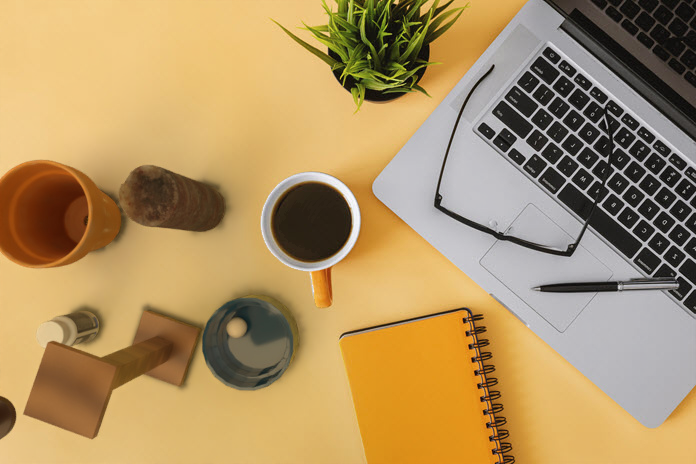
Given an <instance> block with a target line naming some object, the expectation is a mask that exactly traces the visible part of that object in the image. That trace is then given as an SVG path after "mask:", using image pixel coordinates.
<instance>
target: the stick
mask: <svg viewBox="0 0 696 464" xmlns="http://www.w3.org/2000/svg"><path fill="white" fill-rule="evenodd" d="M16 422H17V411H16V407H15V405H14V404H13V403H12V401H11V400H10V399H8V398H7V397H5V396H2V395H0V440H2V439H4V438H5V437H7V435H9V434H10V433H11V432H12V430H13V428H14V427H15V425H16Z"/></svg>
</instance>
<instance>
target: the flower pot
mask: <svg viewBox="0 0 696 464" xmlns="http://www.w3.org/2000/svg"><path fill="white" fill-rule="evenodd" d="M121 226H122V214H121V210H120V208H119V206H118V204H117V203H116V202H115V200H114V199H113V198H111V197H110V196H109V195H107V194H106V193H105V192H103V191H102V190H100V189H99V186H98V185H97V184H96V183H95V181H93V179H91V178H90V177H89V175H87V174H86V173H84V172H82V171H80V170H79V169H77V168H74V167H72V166H70V165H67V164H64V163H60V162H57V161H54V160H49V159H33V160H28V161H25V162H22V163H20V164H17V165H15V166H13V167H12V168H10V169H9V170H8V171H6V172H5V173H4V174H3V175H2V176H1V177H0V254H2V255H3V256H4V257H5V258H6V259H7V260H9V261H11V262H12V263H14V264H16V265H19V266H22V267H25V268H29V269H36V270H37V269H38V270H39V269H51V268H60V267H61V268H62V267H65V266H70V265H72V264H75V263H76V262H79V261H80V260H82V259H84V257H86V256H88V255H89V254H90V253H91V252H94V251H96V250H97V251H98V250H99V249H102V248H105V247H106V246H108V245H110V244H111V243H112V242H113V241H114V240H115V239H116V237H117V236H118V234H119V232H120V231H121Z"/></svg>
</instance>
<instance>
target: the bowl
mask: <svg viewBox="0 0 696 464" xmlns="http://www.w3.org/2000/svg"><path fill="white" fill-rule="evenodd" d="M235 317H239V318H242V319H244V320H245V322H246V324H247V331H246V333H245V334H244V335H243V336H242V337H239V338H234V337H231V336H230V335H229V334H228V333H227V329H226V327H227V324H228V322H229V321H230V320H231V319H232V318H235ZM299 333H300V332H299V329H298V325H297V323H296V319H295V317H294V316H293V314H292V313H291V312H290V310H289V309H288V307H287V306H286V305H284V304H283V303H281V302H280V301H279V300H278V299H276V298H275V297H271V296H267V295H265V294H247V295H244V296H241V297H238V298H234V299H232V300H229V301H227V302H225V303H224V304H222V305H221V306H220V307H218V308H217V309H215V310H214V312H213V314H212V315H211V316H210V317H209V319H208V320H207V321H206V323H205V327H204V330H203V332H202V335H201V342H202V343H201V351H202V354H203V355H202V356H203V359H204V362H205V365H206V367H207V368H208V369H209V371H210V372H211V375H213V377H214V378H215V379H217V380H218V381H219V382H220V383H222V384H223V385H224V386H226V387H227V388H228V387H229V388H232V389H235V390H237V391H241V392H242V391H245V392H249V391H251V392H254V391H258V390H261V389H264V388H267V387H269V386H271V385H272V384H274V383H275V382H276V381H278V380H279V379H281V377H282V376H283V375H284V373H285V372H286V371H287V369H288V368H289V366H290V365H291V363H292V362H293V361H294V359H295V357H296V354H297V351H298V348H299Z"/></svg>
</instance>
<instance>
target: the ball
mask: <svg viewBox="0 0 696 464" xmlns="http://www.w3.org/2000/svg"><path fill="white" fill-rule="evenodd" d="M226 329H227V333H228V334H229V335H230V336H231V337H234V338H239V337H242V336H243V335H244V334H245V333H246V331H247V324H246V322H245V320H244V319H242V318H239V317H235V318H232V319H231V320H230V321H229V322H228V324H227V327H226Z"/></svg>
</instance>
